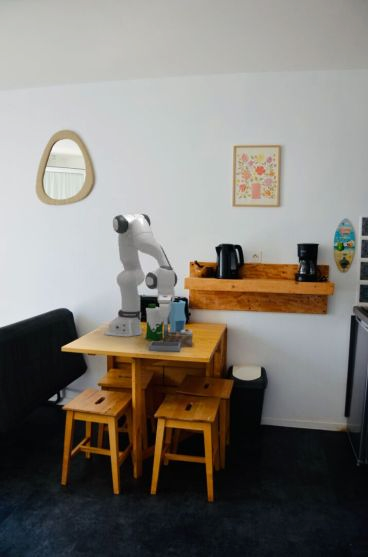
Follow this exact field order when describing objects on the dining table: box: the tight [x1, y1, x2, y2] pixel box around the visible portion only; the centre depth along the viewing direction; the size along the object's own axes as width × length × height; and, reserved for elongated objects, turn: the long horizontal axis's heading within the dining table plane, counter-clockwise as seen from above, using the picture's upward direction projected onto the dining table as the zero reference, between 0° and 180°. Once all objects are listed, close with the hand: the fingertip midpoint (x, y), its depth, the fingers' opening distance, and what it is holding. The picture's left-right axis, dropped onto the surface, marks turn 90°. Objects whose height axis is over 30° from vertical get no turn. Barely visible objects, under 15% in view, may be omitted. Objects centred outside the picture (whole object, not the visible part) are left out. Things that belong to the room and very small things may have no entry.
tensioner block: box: [162, 328, 194, 348], centre depth 226 cm, size 16×9×9 cm, turn 87°
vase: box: [168, 300, 187, 332], centre depth 249 cm, size 8×8×20 cm
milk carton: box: [145, 303, 164, 342], centre depth 236 cm, size 9×9×20 cm
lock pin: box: [163, 313, 170, 337], centre depth 215 cm, size 4×4×12 cm
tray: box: [148, 340, 181, 353], centre depth 216 cm, size 16×10×2 cm, turn 87°
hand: (165, 323), depth 215 cm, fingers closed on lock pin, 3 cm apart
